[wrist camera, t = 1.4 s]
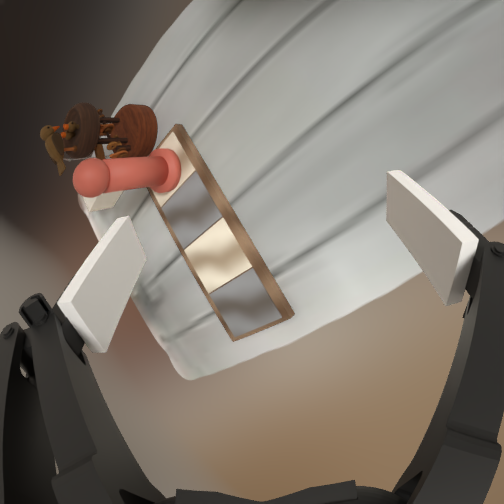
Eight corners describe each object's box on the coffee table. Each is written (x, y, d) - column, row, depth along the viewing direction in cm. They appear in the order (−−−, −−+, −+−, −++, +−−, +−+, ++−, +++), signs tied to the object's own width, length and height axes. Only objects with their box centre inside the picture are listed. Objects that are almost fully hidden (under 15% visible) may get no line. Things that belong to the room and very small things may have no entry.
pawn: (146, 167, 47) (60, 176, 34) (168, 139, 43) (75, 140, 30) (164, 200, 46) (75, 218, 33) (188, 174, 42) (91, 184, 29)
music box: (172, 133, 44) (54, 144, 29) (146, 177, 51) (44, 200, 36) (136, 83, 46) (36, 85, 31) (116, 126, 53) (26, 137, 38)
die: (103, 185, 58) (79, 188, 53) (113, 167, 55) (88, 170, 50) (112, 207, 58) (88, 212, 53) (123, 190, 54) (98, 194, 49)
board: (144, 171, 50) (138, 171, 48) (182, 124, 43) (174, 124, 41) (237, 337, 47) (232, 342, 46) (294, 313, 40) (290, 318, 39)
